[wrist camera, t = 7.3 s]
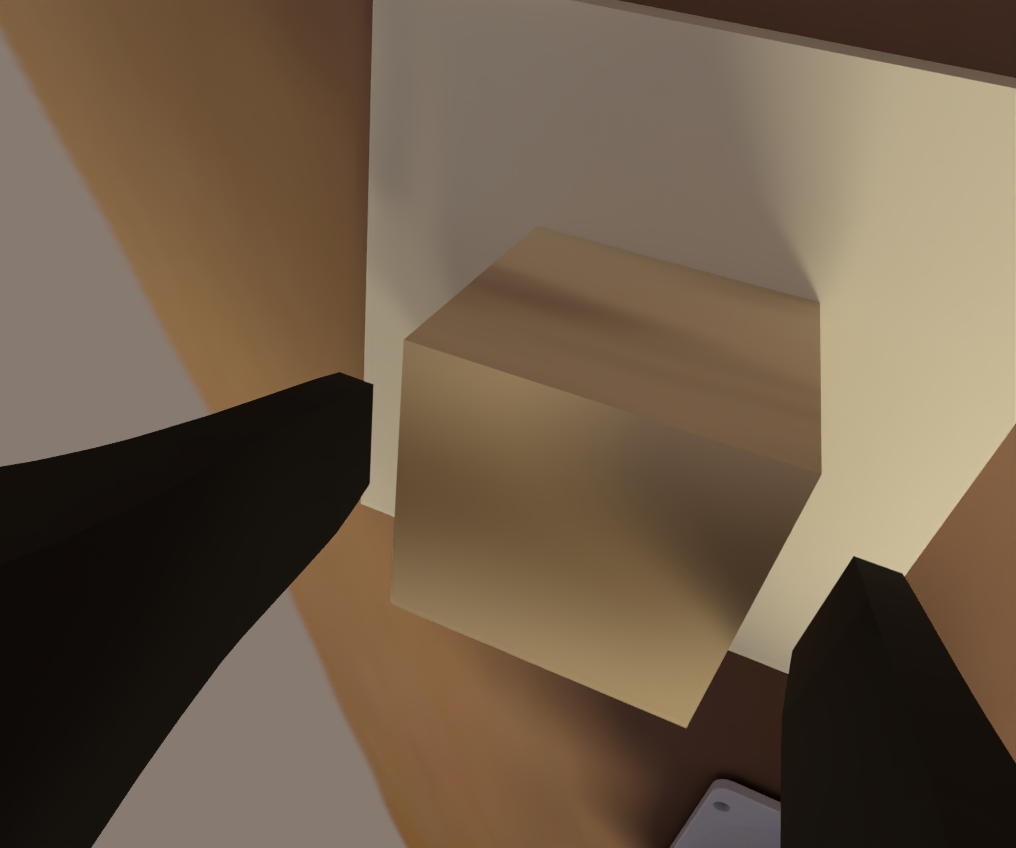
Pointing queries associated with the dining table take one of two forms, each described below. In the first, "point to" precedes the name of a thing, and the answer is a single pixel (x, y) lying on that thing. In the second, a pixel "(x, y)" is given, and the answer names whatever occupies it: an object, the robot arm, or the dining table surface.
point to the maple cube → (604, 463)
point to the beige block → (720, 229)
